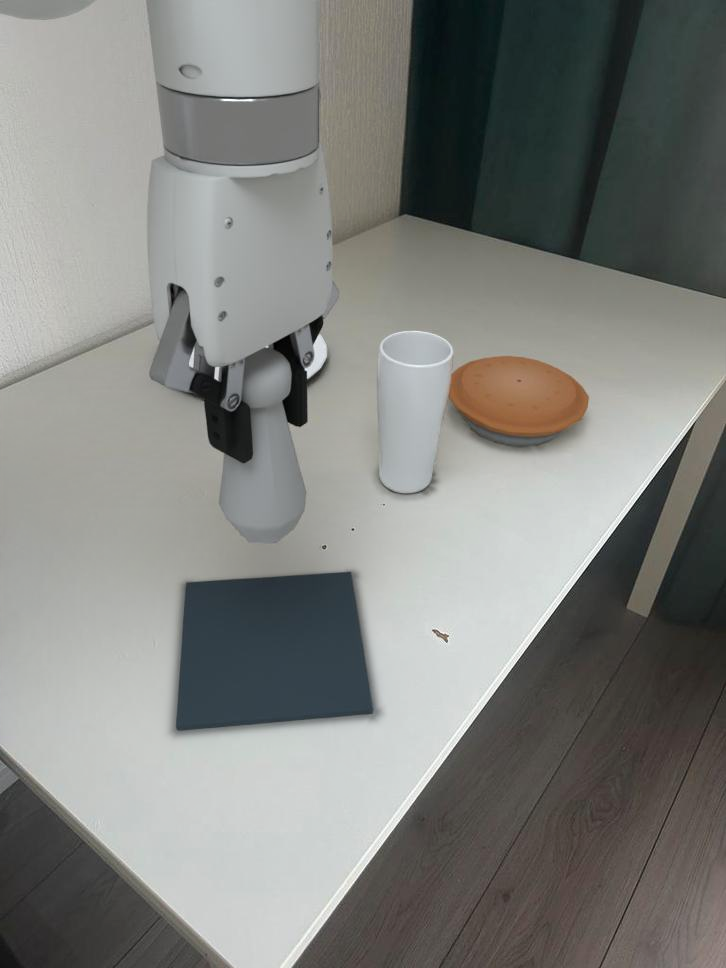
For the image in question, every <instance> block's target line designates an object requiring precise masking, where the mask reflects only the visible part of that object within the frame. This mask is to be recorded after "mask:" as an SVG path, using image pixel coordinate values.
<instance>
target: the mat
mask: <svg viewBox="0 0 726 968" xmlns="http://www.w3.org/2000/svg"><path fill="white" fill-rule="evenodd" d="M183 607H184V608H183V620H182V621H183V623H182V635H181V648H180V665H179V666H180V667H179V675H178V676H179V677H178V678H179V679H178V692H177V705H176V724H175V728H176V731H187V730H188V731H189V730H197V729H198V730H200V729H209V728H222V727H231V726H233V727H234V726H243V725H245V726H246V725H256V724H268V723H277V722H279V723H280V722H290V721H291V722H292V721H301V720H302V721H303V720H314V719H322V718H325V719H326V718H333V717H334V718H335V717H346V716H347V717H348V716H356V715H357V716H358V715H370V714H373V712H374V711H373V710H374V709H373V702H372V696H371V695H372V694H371V689H370V683H369V676H368V671H367V664H366V658H365V652H364V646H363V639H362V633H361V627H360V620H359V615H358V614H359V613H358V608H357V601H356V596H355V588H354V584H353V577H352V572H351V571H342V572H327V573H312V574H310V573H309V574H295V575H279V576H263V577H247V578H237V579H236V578H233V579H218V580H217V579H215V580H202V581H188V582H187V581H186V582H185V593H184V605H183Z"/></svg>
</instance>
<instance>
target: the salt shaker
mask: <svg viewBox="0 0 726 968" xmlns="http://www.w3.org/2000/svg"><path fill="white" fill-rule="evenodd" d="M222 367H223V366H222ZM222 367H220V368H219V376H218V381H219V382H221V376H222ZM291 378H292V372H291V367H290V363H289V362H288V360H287V359H286V358H285V357H284V356H283V355H282V354H281V353H280V352H278V351H275V350H273V349H271V348H266V347H264V348H262V349H261V350H259V351H257V352H255V353H253V354H251V355H249V356H247V357H245V366H244V376H243V386H242V397H241V401H243V402H245V403H246V404H248V405H249V407H250V414H251V429H252V444H253V456H252V459H251V460H249V461H248V462H246V463H244V464H243V463H241V462H239V461H237V460H236V459H234V458H232V457H230V456H228V455H226V454H225V453H223V461H222V462H223V463H222V469H221V470H222V471H221V477H220V489H219V497H218V505H219V508H220V510H221V512H222V514H223V515H224V518H225V520H227V522H229V524H230V525H231V526H232V528H234V529H235V531H236V532H237V533H238V534H239V535H240V536H242V538H243V539H244V540H245V541H246V542H247V543H249V544H277V543H278V542H280V541H281V540H282V539H284V538H285V537H287V536H288V535H290V533H292V532H293V531H294V530H295V529H296V528H297V525H298V523H299V522H300V519H301V518H302V516H303V514H304V512H305V510H306V504H307V503H306V502H307V489H306V485H305V482H304V478H303V474H302V470H301V467H300V463H299V458H298V455H297V451H296V448H295V444H294V440H293V437H292V436H293V435H292V433H291V430H290V426H289V423H288V421H287V418H286V414H285V410H284V406H283V403H282V400H283V399H284V398H286V397H287V396H288V395H289V393H290V389H291Z"/></svg>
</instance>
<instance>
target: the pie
mask: <svg viewBox="0 0 726 968" xmlns="http://www.w3.org/2000/svg"><path fill="white" fill-rule="evenodd" d="M589 399H590V396H589V394H588V393H587V391H586V390H585V389H584V386H582V385H581V384H580V383H579V382H578V381H577V380H576V379H575V378H574V377H573V376H572V375H569V374H568V373H566V372H565V371H563V370H561V369H559V368H557V367H555V366H553V365H551V364H549V363H546V362H544V361H541V360H538V359H533V358H529V357H524V356H512V355H501V356H490V357H483V358H479V359H474V360H470V361H468V362H467V363H465V364H463V365H460V366H459V367H457V368H456V369H455V370H454V371H452V377H451V384H450V391H449V396H448V400H450V402H451V403H452V404H453V405H454V406H455V408H456V410H458V413H459V414H460V416H461V418H462V420H463V421H464V423H465V424H466V425H467V426H468V427H469V430H471V431H473V432H474V433H475V434H476V435H478V436H479V437H481V438H482V439H483V438H484V439H486V440H488V441H490V442H493V443H494V444H495V443H496V444H499V445H504V446H507V447H508V446H510V447H518V448H519V447H521V448H524V447H526V448H527V447H534V446H539V445H543V444H546V443H549V442H551V441H552V440H554V439H555V438H557V437H558V436H559V435H562V433H563V432H564V431H566V430H567V429H569V428H570V427H571V426H573V425H575V424H576V423H578V422H580V421H581V420H582V419H583V418H584V416H585V415H586V412H587V410H588V407H589Z"/></svg>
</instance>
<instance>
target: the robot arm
mask: <svg viewBox="0 0 726 968" xmlns="http://www.w3.org/2000/svg"><path fill="white" fill-rule="evenodd" d="M96 1H97V0H0V14H1V15H4V16H9V17H13V18H16V19H20V20H21V19H22V20H33V21H48V20H55V19H61V18H65V17H69V16H72V15H74V14H77V13H79V12H81V11H83V10H85V9H86V8H88V7H90V6H91V5H92V4H93V3H95V2H96ZM145 3H146V12H147V21H148V28H149V29H148V30H149V36H150V37H149V38H150V45H151V54H152V60H153V61H152V62H153V71H154V79H155V86H156V94H157V102H158V111H159V118H160V127H161V136H162V137H161V138H162V145H163V154H164V155H161V156H159V157H156V158H153V159H152V160H151V165H150V172H149V180H148V191H147V192H148V193H147V206H146V207H147V209H146V213H147V214H146V240H147V241H146V243H147V262H148V277H149V278H148V280H149V292H150V301H151V302H150V303H151V310H152V311H151V312H152V318H153V325H154V329H155V334H156V337H157V339H158V341H159V342H158V345H159V346H158V345H157V348H156V351H155V353H156V354H154V357H153V359H152V362H151V365H150V369H149V372H148V375H149V378H150V380H152V381H154V382H156V383H158V384H160V385H161V386H164V387H166V388H167V389H170V390H175V391H179V392H183V393H191V394H194V395H196V396H198V397H200V398H202V399H203V404H204V405H203V406H204V416H205V423H206V431H207V432H206V433H207V439H208V443H209V445H210V446H211V447H212V448H213V449H216V450H217V451H219V452H221V453H223V454H224V453H225V454H226V455H228V456H230V457H232V458H234V459H236V460H237V461H239V462H241V463H243V464H244V463H246V462H248V461H249V460H251V459H252V456H253V444H252V429H251V414H250V407H249V405H248V404H246V403H245V402H243V401H241V397H242V386H243V376H244V366H245V357H247V356H249V355H251V354H253V353H255V352H257V351H259V350H261V349H262V348H264V347H266V346H268V348H271V349H273V350H275V351H278V352H280V353H281V354H282V355H283V356H284V357H285V358H286V359H287V360H288V362H289V363H290V367H291V372H292V378H291V389H290V393H289V395H288V396H287V397H286V398H284V399H283V400H282V403H283V406H284V410H285V414H286V418H287V421H288V424H290V425H292V426H293V427H297V428H301V427H303V426H304V425H306V424H307V423H308V421H309V420H308V416H309V415H308V413H309V412H308V411H309V410H308V409H309V408H308V380H307V371H305V368H308V367H309V366H310V365H311V364H312V362H313V360H314V349H313V345H314V343H315V341H316V339H317V337H318V335H319V334H321V331H322V329H323V326H324V320H325V319H326V318H327V317H328V315H329V314H330V312H331V311H332V309H333V308H334V306H335V304H336V303H337V301H338V300H339V296H340V290H339V289H338V287H337V285H336V283H335V281H334V278H333V277H334V242H333V224H332V222H333V221H332V209H331V208H332V207H331V198H330V189H329V182H328V175H327V167H326V161H325V156H324V151H323V146H322V144H321V143H320V103H321V100H322V99H321V98H322V96H321V90H320V0H145ZM194 346H195V348H194ZM193 349H194V364H193V368H192V367H190V366H189V360H190V357H191V354H192V352H193ZM222 366H223V367H222ZM215 367H222V376H221V382H219V381H218V380H216V379H214V376H215Z"/></svg>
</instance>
